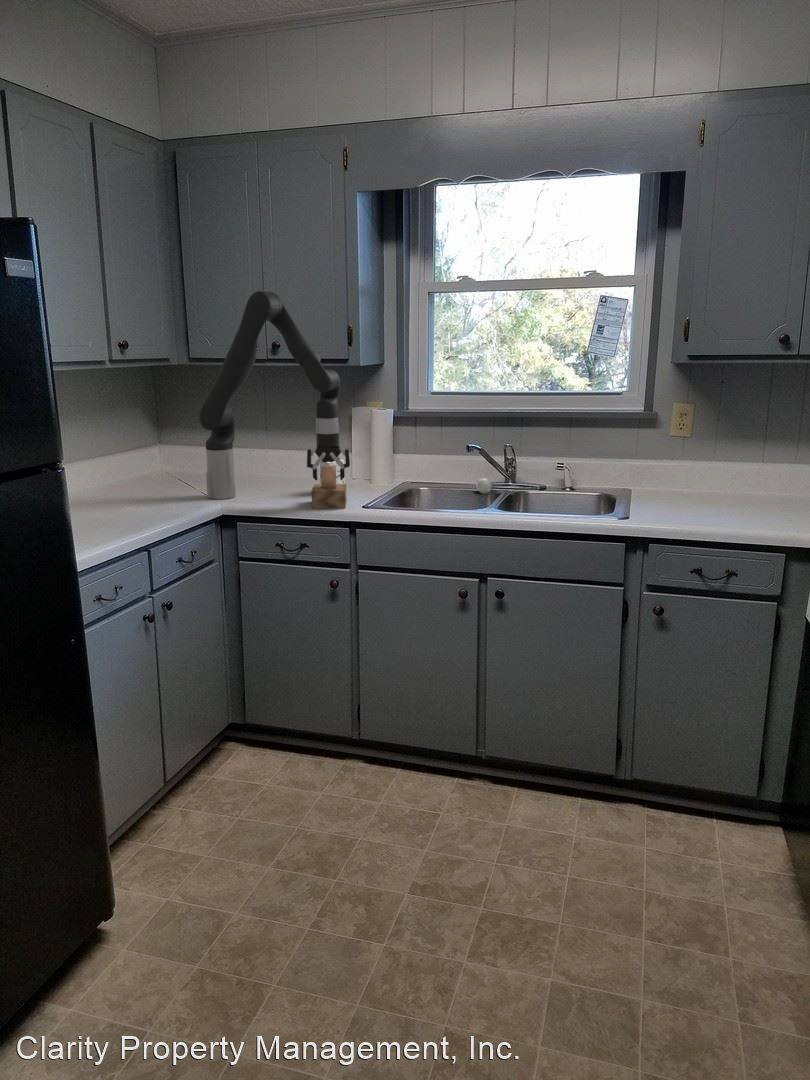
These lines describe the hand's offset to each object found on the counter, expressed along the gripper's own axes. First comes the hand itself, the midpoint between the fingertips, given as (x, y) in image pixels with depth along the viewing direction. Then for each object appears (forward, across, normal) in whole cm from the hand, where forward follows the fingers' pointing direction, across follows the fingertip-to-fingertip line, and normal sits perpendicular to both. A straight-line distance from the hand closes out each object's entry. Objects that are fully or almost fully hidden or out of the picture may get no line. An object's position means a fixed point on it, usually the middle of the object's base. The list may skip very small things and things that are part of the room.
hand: (328, 479), depth 268 cm
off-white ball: (+6, +55, +17) cm, 58 cm away
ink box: (+9, 0, +22) cm, 23 cm away
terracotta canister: (+3, 0, 0) cm, 3 cm away
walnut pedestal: (+9, 0, 0) cm, 9 cm away
